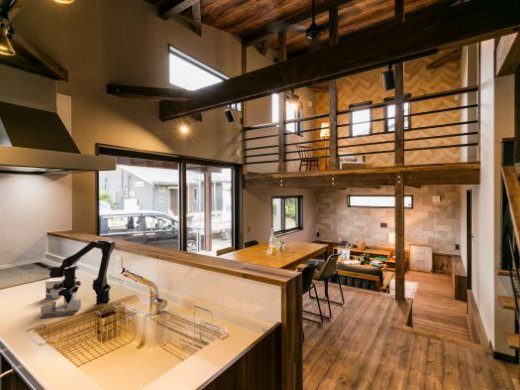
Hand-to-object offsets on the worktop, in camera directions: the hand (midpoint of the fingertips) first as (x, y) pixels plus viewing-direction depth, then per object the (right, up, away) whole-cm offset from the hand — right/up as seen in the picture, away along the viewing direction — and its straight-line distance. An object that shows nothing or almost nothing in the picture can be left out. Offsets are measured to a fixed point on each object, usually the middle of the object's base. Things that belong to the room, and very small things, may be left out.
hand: (70, 301), depth 172 cm
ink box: (-18, -2, +11) cm, 21 cm away
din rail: (+3, -2, -13) cm, 13 cm away
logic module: (0, -1, 0) cm, 1 cm away
